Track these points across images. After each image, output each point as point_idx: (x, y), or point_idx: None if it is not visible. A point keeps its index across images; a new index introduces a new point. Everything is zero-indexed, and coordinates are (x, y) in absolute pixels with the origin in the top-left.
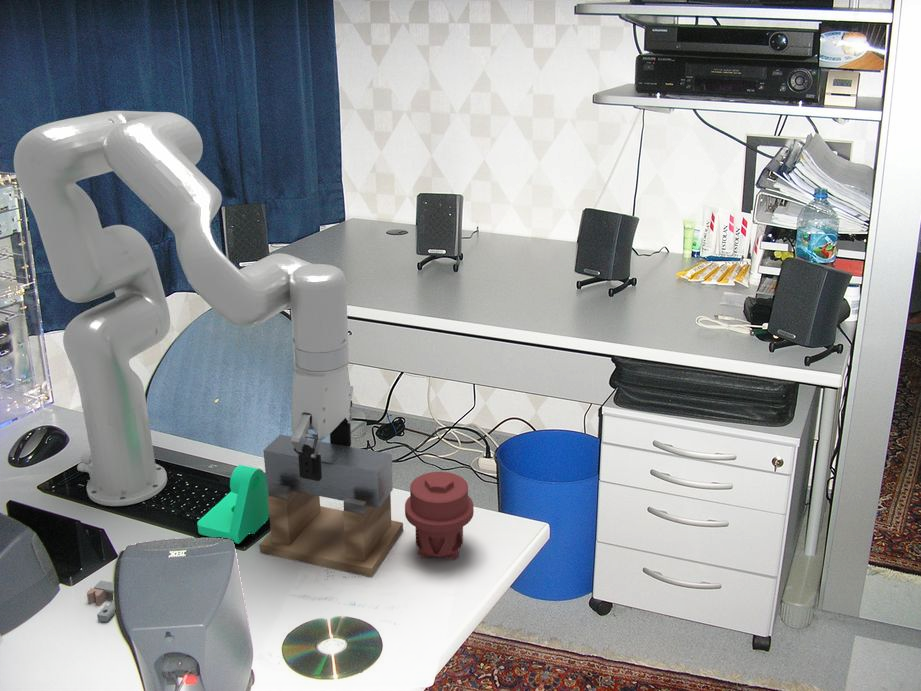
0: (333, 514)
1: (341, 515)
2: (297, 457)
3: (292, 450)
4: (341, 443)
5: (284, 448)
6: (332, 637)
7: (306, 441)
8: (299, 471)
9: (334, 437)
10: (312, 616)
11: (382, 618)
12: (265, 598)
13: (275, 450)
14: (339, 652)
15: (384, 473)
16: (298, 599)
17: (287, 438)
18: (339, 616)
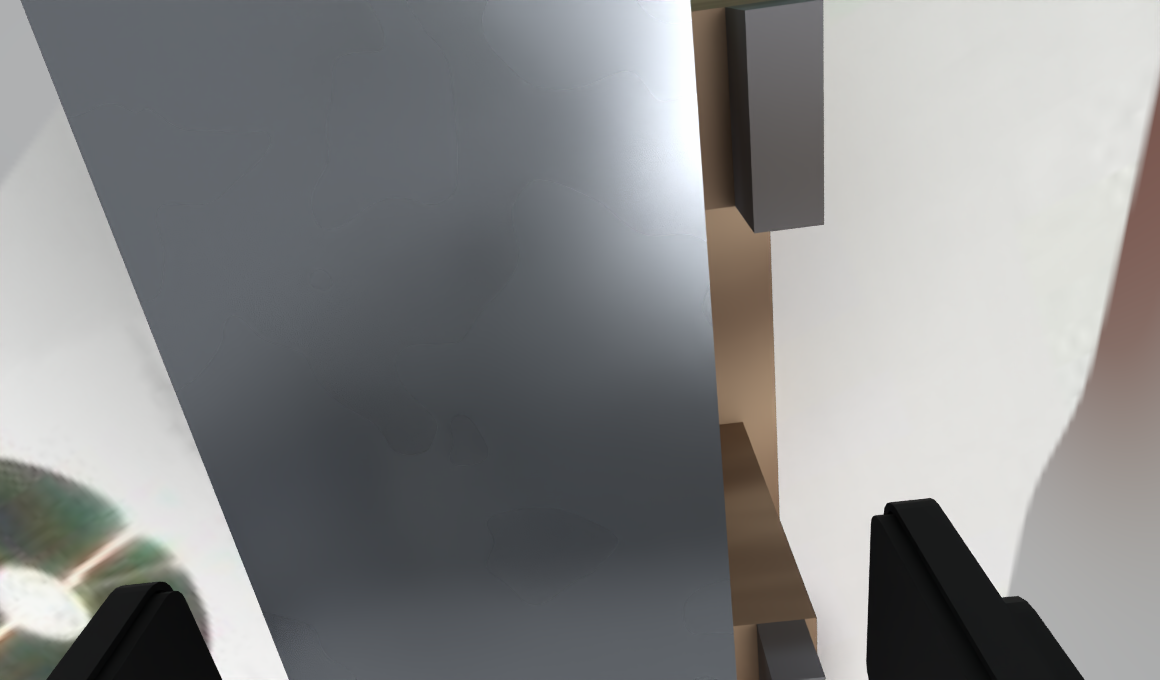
0: (715, 213)
1: (722, 259)
2: (232, 524)
3: (320, 384)
4: (882, 651)
5: (291, 242)
6: (69, 586)
7: (649, 414)
8: (84, 630)
9: (911, 634)
10: (99, 477)
11: (257, 667)
12: (37, 251)
13: (140, 150)
14: (34, 635)
15: None
16: (134, 378)
17: (599, 76)
18: (168, 554)
